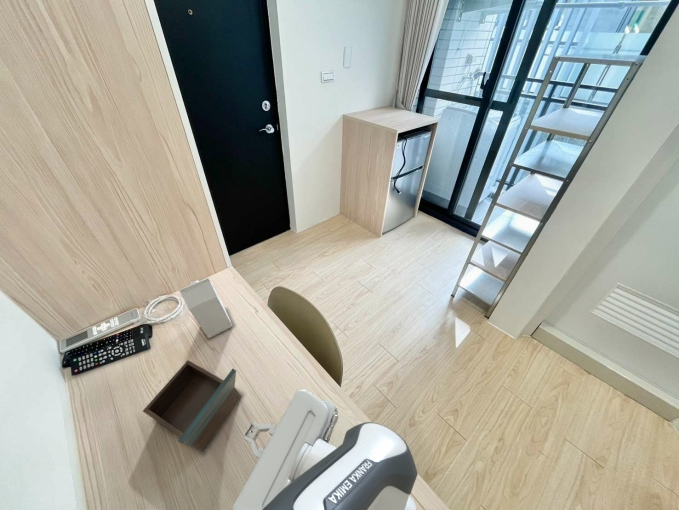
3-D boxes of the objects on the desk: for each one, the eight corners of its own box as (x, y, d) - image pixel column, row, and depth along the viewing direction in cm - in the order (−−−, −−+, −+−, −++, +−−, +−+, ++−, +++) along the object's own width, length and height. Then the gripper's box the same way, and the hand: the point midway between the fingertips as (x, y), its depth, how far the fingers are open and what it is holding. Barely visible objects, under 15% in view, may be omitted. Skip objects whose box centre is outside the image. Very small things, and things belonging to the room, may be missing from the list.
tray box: (157, 419, 63) (142, 411, 59) (197, 371, 72) (187, 359, 67) (203, 452, 59) (191, 445, 54) (241, 396, 67) (233, 386, 62)
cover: (178, 440, 42) (182, 443, 42) (232, 368, 50) (236, 370, 50) (188, 443, 54) (192, 445, 54) (231, 384, 62) (234, 386, 62)
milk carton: (232, 326, 81) (212, 286, 68) (208, 338, 78) (182, 299, 65) (225, 310, 85) (204, 269, 72) (202, 321, 83) (176, 281, 69)
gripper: (342, 403, 49) (278, 370, 53) (277, 556, 36) (199, 496, 40) (342, 413, 53) (283, 382, 57) (284, 553, 40) (214, 499, 44)
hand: (248, 430), depth 49 cm, fingers closed
